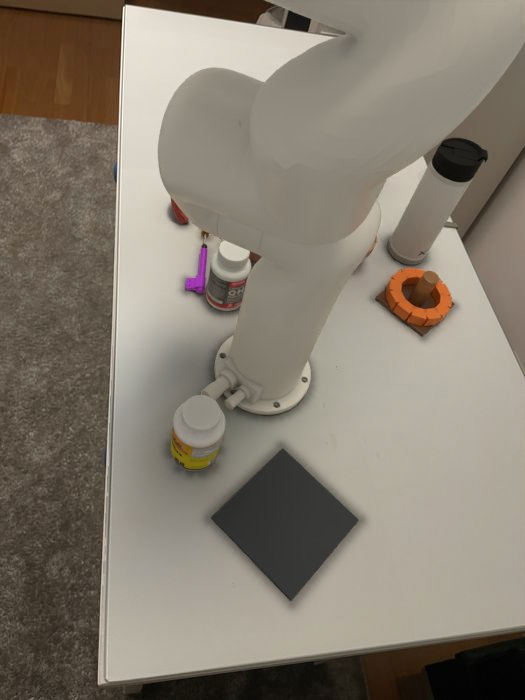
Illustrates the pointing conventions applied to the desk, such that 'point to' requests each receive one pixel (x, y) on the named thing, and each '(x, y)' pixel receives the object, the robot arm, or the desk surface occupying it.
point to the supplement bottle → (197, 433)
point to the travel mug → (435, 198)
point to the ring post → (417, 298)
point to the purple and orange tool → (200, 279)
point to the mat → (285, 522)
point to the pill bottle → (228, 276)
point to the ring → (412, 312)
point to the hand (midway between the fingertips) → (411, 19)
